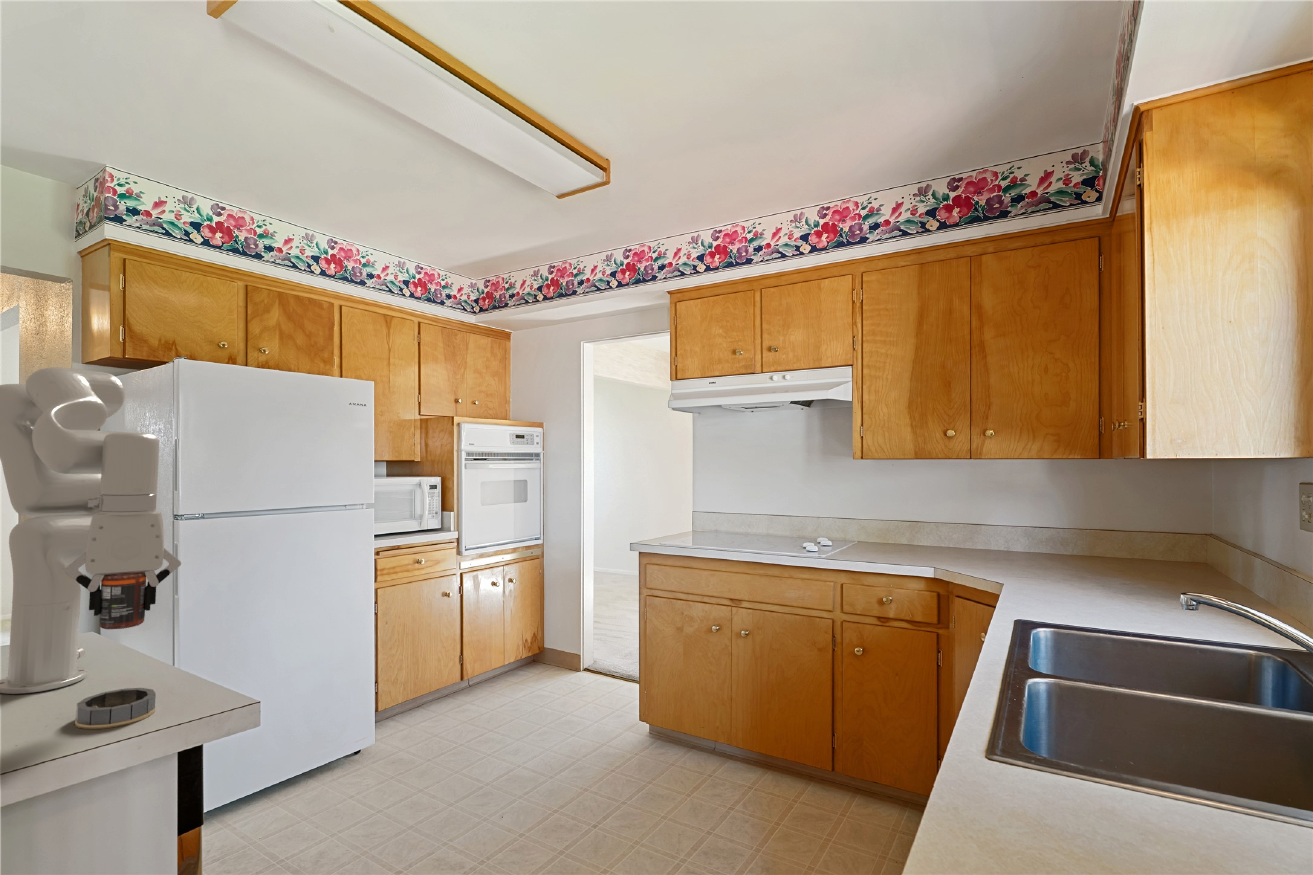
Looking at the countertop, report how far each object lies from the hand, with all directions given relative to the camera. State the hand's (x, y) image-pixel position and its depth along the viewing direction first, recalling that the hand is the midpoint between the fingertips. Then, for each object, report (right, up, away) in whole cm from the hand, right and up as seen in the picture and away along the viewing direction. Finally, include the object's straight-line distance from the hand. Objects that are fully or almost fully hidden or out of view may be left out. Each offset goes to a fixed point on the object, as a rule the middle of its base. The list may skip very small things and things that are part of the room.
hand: (122, 610), depth 110 cm
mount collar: (-1, -18, -1) cm, 18 cm away
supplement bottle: (0, -3, 0) cm, 3 cm away
